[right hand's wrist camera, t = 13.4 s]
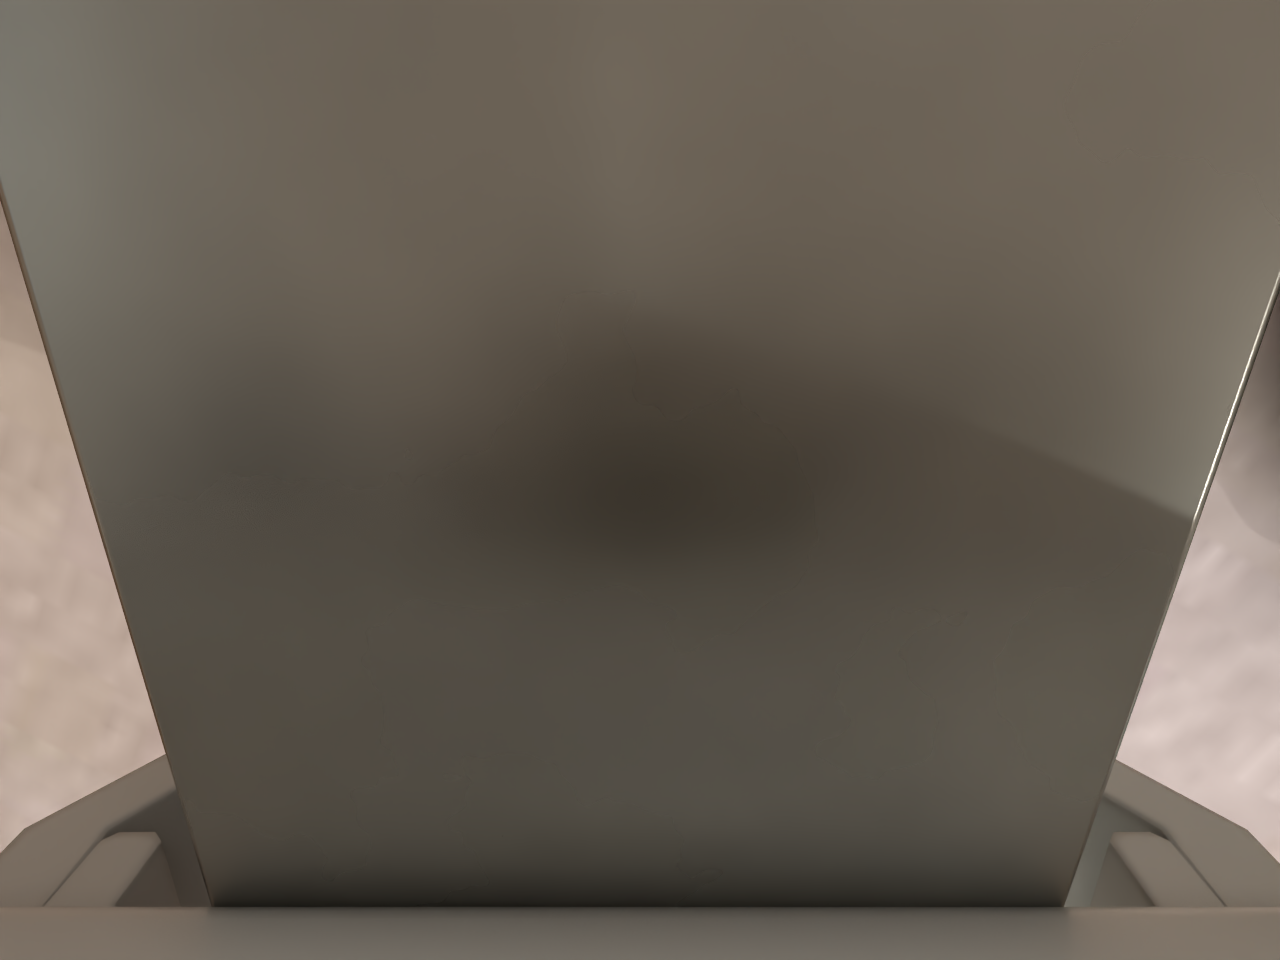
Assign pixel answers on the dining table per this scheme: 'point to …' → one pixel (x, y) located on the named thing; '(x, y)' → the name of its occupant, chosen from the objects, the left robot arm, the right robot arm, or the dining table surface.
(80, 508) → the dining table surface
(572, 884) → the box
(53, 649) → the dining table surface
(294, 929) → the right robot arm
